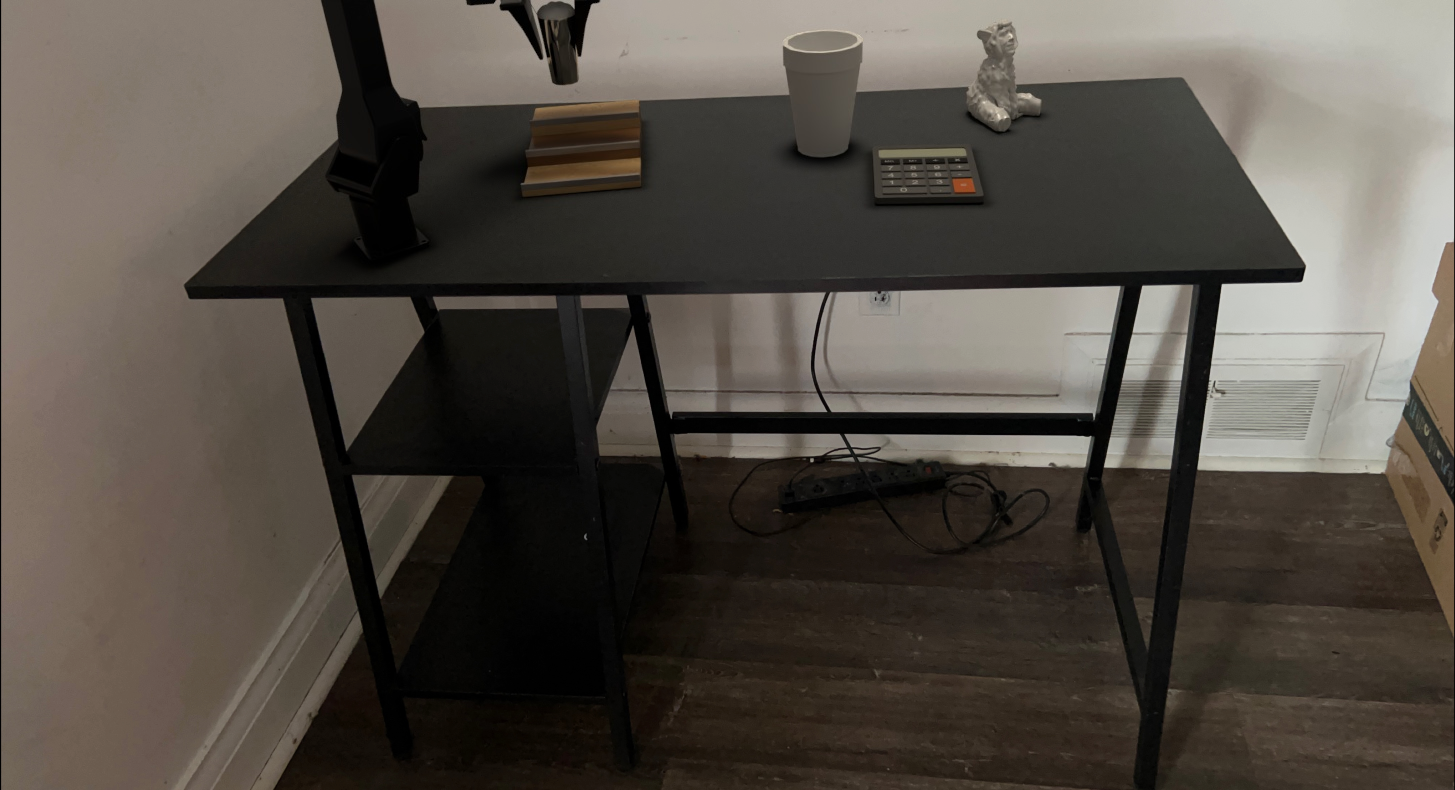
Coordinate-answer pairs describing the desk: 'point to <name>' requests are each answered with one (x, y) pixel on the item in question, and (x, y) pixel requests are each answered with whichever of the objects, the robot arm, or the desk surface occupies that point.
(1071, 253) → the desk surface
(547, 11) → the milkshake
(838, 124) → the foam cup
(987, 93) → the seated beast figurine
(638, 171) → the rack
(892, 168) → the calculator
